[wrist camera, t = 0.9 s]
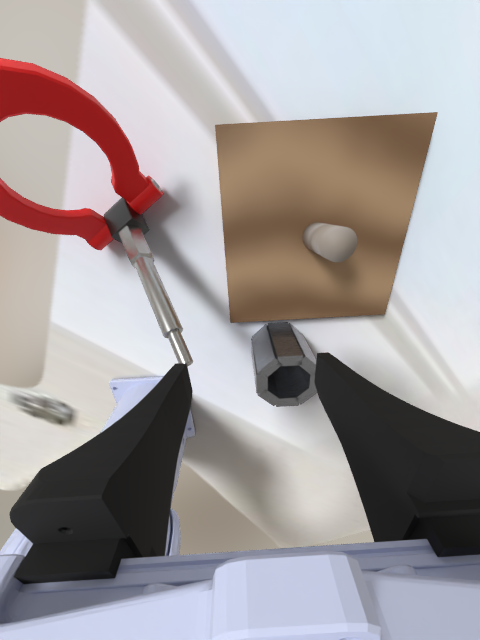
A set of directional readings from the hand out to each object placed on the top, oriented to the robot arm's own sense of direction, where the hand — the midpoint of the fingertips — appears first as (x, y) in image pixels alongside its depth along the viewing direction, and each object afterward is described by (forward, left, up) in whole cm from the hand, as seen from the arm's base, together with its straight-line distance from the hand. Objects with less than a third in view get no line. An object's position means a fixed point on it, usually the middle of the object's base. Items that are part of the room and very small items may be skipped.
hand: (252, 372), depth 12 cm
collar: (-5, -3, -10) cm, 11 cm away
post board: (+6, -6, -10) cm, 13 cm away
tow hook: (+11, +10, -6) cm, 16 cm away
